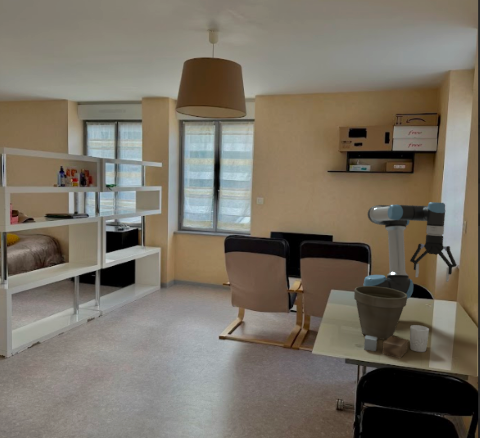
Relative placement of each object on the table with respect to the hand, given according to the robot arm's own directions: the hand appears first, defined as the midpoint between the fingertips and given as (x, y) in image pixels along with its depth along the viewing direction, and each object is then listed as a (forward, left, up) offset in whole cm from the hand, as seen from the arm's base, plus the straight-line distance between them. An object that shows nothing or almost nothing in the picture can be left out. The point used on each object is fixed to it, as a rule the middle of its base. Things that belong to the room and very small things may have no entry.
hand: (431, 279), depth 208 cm
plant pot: (-21, -8, -30) cm, 38 cm away
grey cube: (-17, -30, -30) cm, 46 cm away
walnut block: (-7, -27, -30) cm, 41 cm away
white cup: (0, -16, -30) cm, 34 cm away
